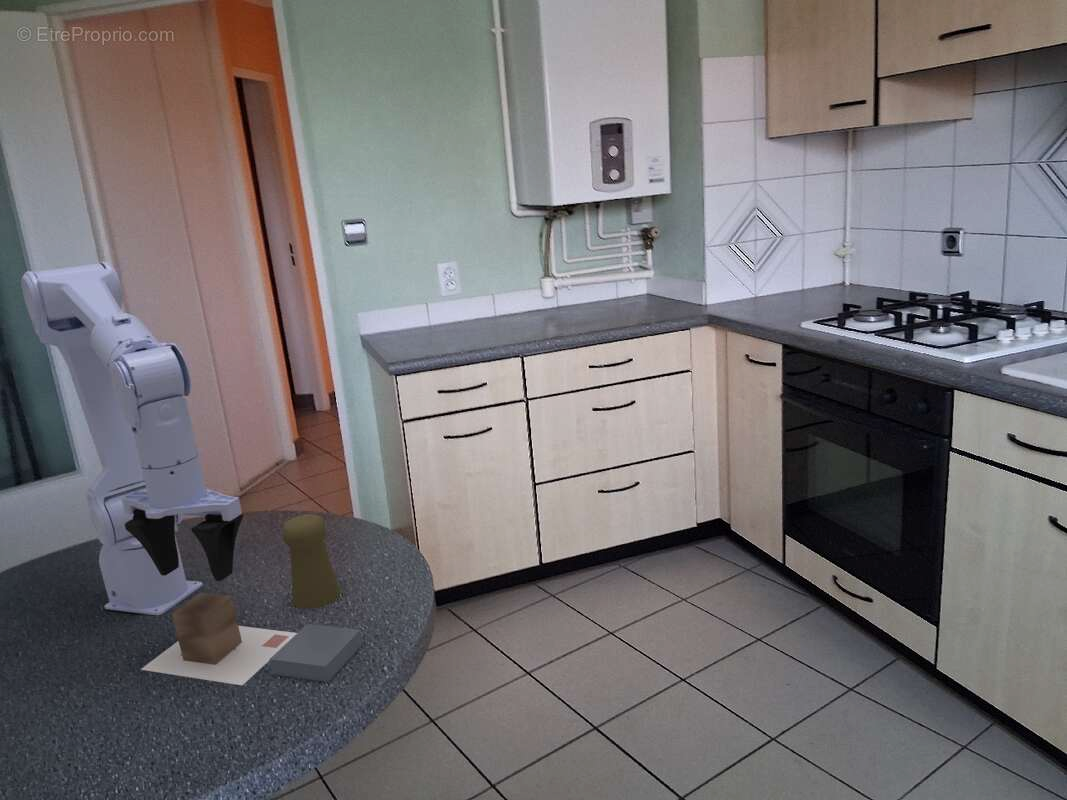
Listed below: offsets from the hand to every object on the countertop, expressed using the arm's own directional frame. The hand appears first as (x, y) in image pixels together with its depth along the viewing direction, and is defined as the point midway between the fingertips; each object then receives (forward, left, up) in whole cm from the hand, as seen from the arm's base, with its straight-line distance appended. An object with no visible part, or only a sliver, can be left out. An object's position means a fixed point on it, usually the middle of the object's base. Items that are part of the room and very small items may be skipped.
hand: (196, 574), depth 89 cm
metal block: (+13, +1, -10) cm, 17 cm away
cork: (+5, +13, -10) cm, 17 cm away
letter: (+1, 0, -10) cm, 10 cm away
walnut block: (0, 0, -10) cm, 10 cm away
